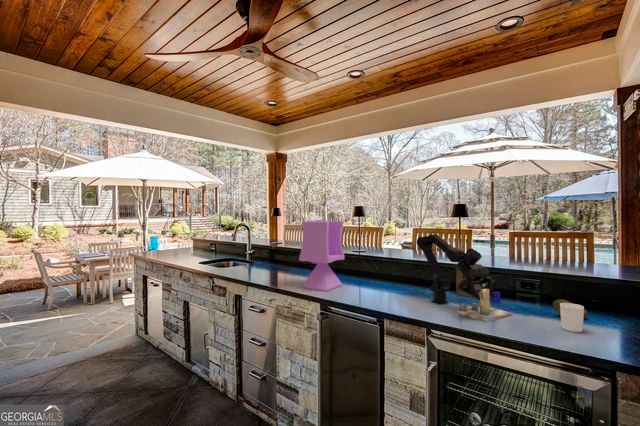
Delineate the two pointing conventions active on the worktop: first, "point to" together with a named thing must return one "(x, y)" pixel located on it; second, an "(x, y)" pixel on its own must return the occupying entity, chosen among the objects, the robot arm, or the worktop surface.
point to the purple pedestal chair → (322, 253)
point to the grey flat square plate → (484, 315)
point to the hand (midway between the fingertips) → (487, 298)
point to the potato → (557, 302)
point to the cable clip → (496, 297)
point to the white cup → (572, 316)
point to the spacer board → (492, 310)
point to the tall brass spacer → (484, 302)
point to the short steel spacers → (474, 306)
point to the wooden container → (459, 278)
